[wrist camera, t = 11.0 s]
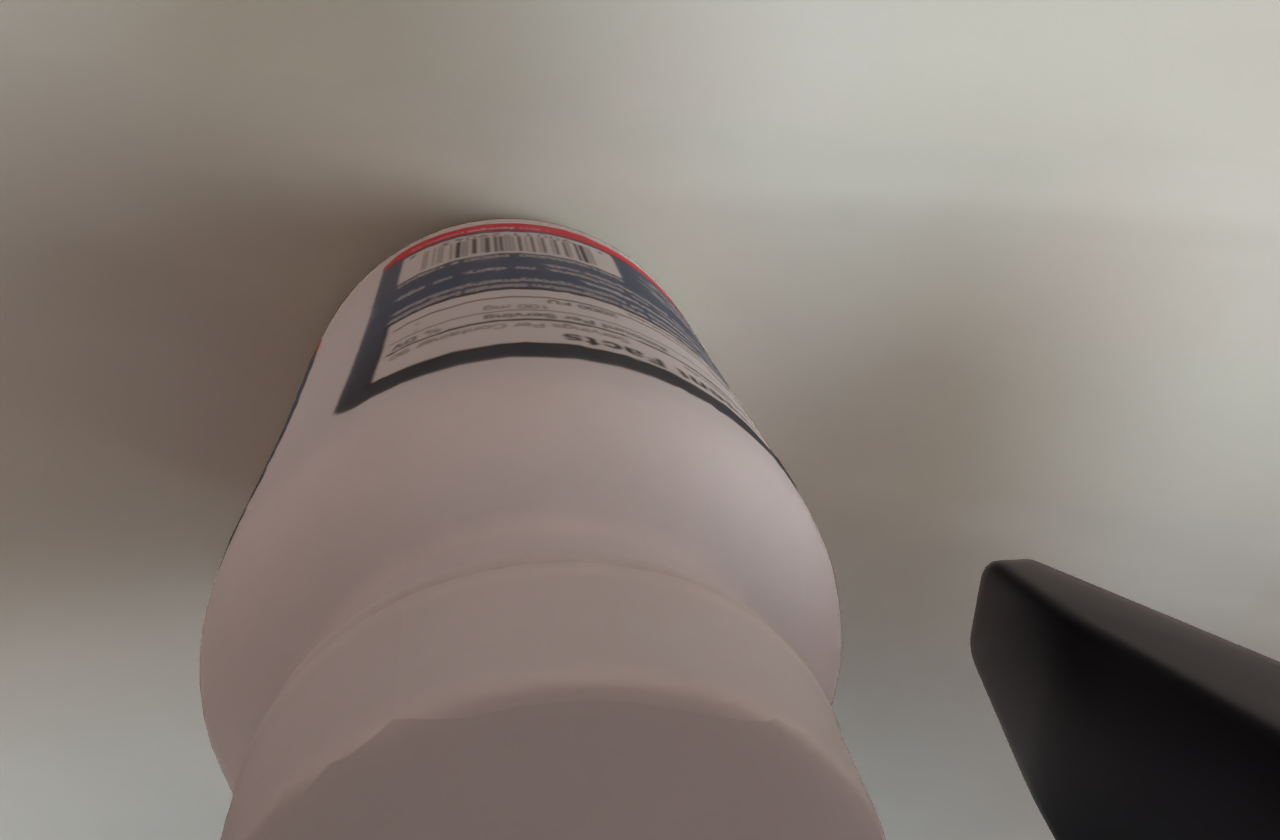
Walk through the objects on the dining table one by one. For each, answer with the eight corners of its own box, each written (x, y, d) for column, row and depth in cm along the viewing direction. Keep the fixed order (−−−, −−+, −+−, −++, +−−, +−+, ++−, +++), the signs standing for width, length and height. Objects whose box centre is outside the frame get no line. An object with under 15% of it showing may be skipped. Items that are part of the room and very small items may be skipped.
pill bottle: (528, 632, 15) (580, 1354, 7) (231, 426, 13) (-160, 1089, 5) (777, 383, 14) (1167, 893, 6) (494, 122, 12) (516, 360, 4)
